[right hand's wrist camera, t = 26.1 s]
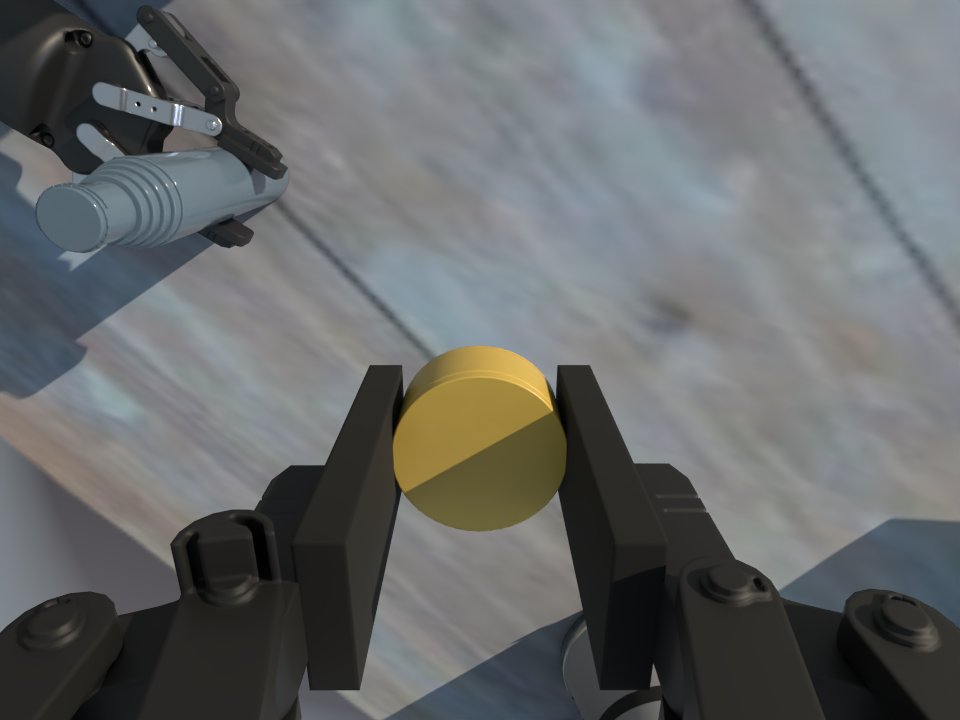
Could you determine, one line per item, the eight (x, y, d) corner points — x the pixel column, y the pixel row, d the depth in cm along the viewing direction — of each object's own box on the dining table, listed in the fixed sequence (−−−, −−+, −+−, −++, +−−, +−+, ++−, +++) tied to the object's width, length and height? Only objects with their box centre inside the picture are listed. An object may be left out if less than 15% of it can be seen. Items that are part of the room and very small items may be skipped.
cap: (368, 417, 15) (353, 457, 13) (480, 311, 14) (480, 340, 12) (478, 511, 16) (478, 560, 14) (590, 418, 15) (604, 459, 13)
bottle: (279, 137, 43) (98, 153, 23) (296, 197, 45) (140, 263, 24) (222, 148, 44) (-8, 174, 23) (240, 208, 45) (41, 282, 25)
